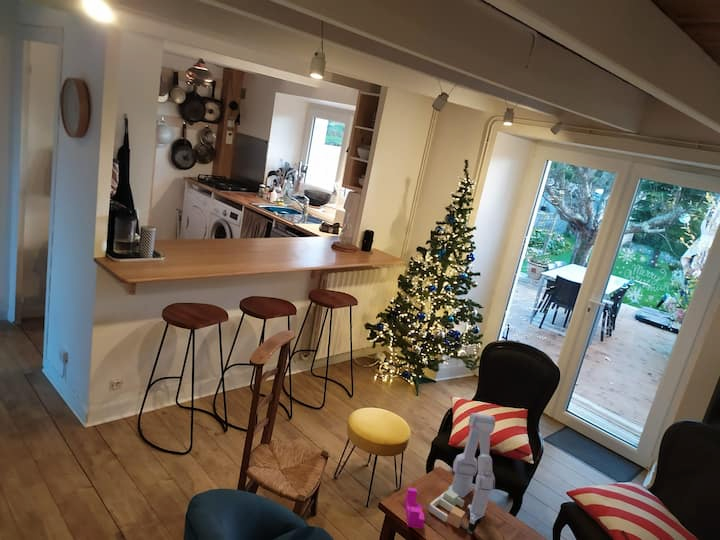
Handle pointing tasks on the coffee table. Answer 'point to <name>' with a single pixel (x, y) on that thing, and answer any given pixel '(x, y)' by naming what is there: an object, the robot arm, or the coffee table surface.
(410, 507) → the toy block
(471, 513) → the robot arm
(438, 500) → the rack
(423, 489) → the coffee table surface
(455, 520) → the handled block
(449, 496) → the green block
